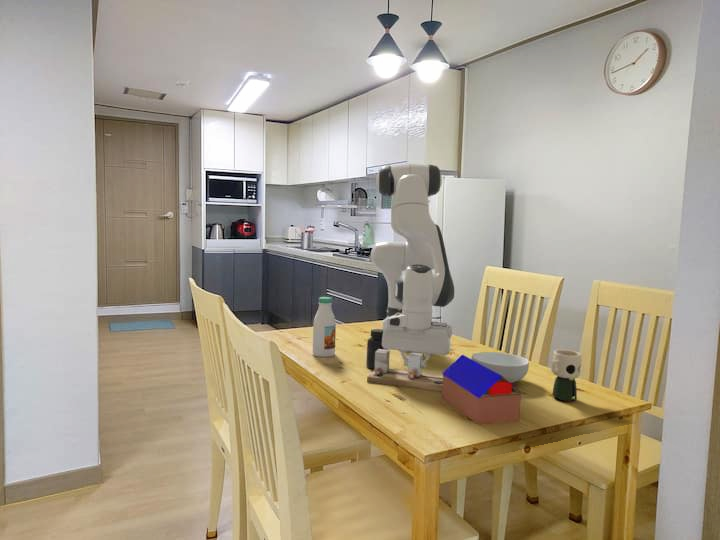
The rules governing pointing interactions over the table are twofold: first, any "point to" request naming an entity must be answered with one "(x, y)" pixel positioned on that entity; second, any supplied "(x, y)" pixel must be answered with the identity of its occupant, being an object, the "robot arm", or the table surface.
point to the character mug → (566, 373)
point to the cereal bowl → (503, 364)
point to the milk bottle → (324, 329)
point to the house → (480, 392)
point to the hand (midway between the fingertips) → (414, 366)
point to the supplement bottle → (373, 346)
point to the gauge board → (401, 375)
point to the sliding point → (414, 365)
